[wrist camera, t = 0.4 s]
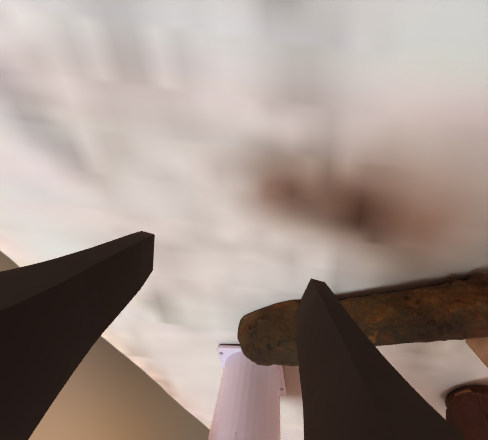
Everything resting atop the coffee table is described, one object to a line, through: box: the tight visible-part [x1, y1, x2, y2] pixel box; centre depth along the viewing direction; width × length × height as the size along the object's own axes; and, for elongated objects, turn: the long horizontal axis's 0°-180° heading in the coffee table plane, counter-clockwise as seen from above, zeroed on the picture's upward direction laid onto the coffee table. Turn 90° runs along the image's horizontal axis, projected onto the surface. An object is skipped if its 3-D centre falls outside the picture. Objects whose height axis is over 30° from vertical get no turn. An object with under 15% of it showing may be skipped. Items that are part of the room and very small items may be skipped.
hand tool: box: [238, 273, 488, 366], centre depth 19 cm, size 23×5×6 cm, turn 107°
